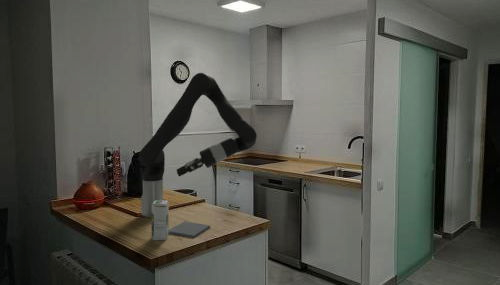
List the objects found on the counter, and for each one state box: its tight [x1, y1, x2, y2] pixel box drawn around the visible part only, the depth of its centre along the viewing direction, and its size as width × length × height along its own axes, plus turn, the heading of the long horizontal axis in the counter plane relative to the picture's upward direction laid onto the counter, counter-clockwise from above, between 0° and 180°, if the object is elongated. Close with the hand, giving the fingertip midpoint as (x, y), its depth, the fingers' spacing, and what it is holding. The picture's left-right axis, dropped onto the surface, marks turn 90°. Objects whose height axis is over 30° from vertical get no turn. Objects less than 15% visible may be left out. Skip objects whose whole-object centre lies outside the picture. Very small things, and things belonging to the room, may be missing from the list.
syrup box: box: [151, 199, 170, 241], centre depth 135 cm, size 6×6×14 cm
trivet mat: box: [168, 221, 211, 239], centre depth 144 cm, size 13×13×1 cm
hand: (177, 173), depth 139 cm, fingers open, 8 cm apart
